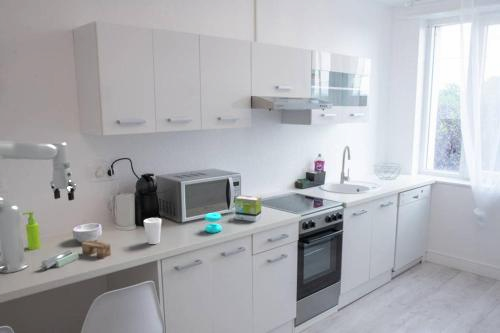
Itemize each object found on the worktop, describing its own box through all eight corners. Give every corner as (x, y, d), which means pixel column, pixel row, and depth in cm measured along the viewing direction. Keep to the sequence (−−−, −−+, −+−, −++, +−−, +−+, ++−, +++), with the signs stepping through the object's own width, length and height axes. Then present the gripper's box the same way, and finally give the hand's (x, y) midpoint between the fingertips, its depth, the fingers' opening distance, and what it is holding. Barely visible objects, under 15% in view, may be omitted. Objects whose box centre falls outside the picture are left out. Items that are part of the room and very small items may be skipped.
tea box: (235, 219, 260) (234, 197, 258) (241, 215, 270) (240, 194, 267) (256, 222, 255) (255, 199, 252) (261, 217, 264) (261, 196, 261)
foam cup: (146, 246, 213) (144, 223, 211) (144, 241, 222) (142, 219, 220) (163, 244, 217) (162, 221, 215) (161, 239, 225) (159, 217, 223)
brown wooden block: (103, 258, 198) (102, 246, 197) (82, 254, 204) (81, 243, 203) (110, 254, 203) (110, 243, 202) (90, 251, 208) (89, 240, 207)
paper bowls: (74, 238, 230) (73, 224, 228) (102, 234, 235) (101, 221, 234) (73, 246, 216) (71, 232, 214) (102, 242, 221) (101, 229, 220)
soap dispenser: (26, 247, 216) (22, 211, 213) (41, 245, 219) (37, 210, 215) (25, 250, 211) (21, 214, 207) (40, 248, 213) (36, 212, 210)
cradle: (59, 267, 188) (59, 261, 187) (46, 264, 192) (45, 258, 191) (79, 258, 199) (79, 252, 198) (66, 255, 202) (65, 250, 202)
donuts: (211, 211, 244) (224, 213, 239) (211, 227, 245) (225, 229, 240) (201, 215, 235) (214, 218, 230) (201, 231, 237) (215, 234, 232)
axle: (48, 269, 185) (48, 262, 184) (41, 266, 186) (42, 259, 186) (72, 258, 198) (72, 251, 197) (66, 256, 199) (66, 249, 198)
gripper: (79, 166, 201) (82, 198, 204) (55, 164, 208) (58, 196, 210) (67, 168, 194) (70, 202, 197) (42, 166, 201) (46, 199, 204)
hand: (64, 199), depth 204 cm, fingers open, 9 cm apart
